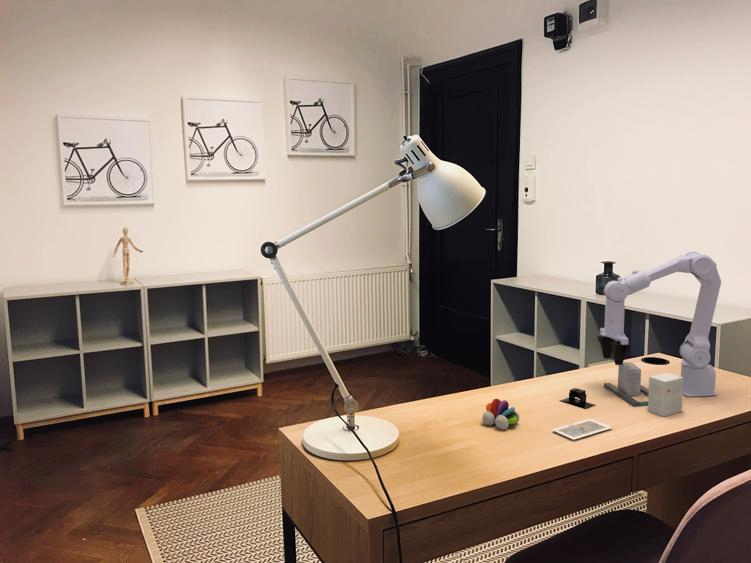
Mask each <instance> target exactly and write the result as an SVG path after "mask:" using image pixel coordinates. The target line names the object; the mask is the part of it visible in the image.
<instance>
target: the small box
mask: <svg viewBox="0 0 751 563" xmlns="http://www.w3.org/2000/svg"><path fill="white" fill-rule="evenodd" d="M648 379H649V380H648V389H649V396H648V397H647V401H648V406H647V411H648V412H650V413H652V414H655V415H658V416H661V417H663V418H664V417H667V416H670V415H674V414H675V415H676V414H678V413H681V412H682V408H683V395H684V394H683V377H681V375H676V374H673V373H670V372H664V373H660V374H656V375H652V376H649V378H648Z"/></svg>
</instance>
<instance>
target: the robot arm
mask: <svg viewBox="0 0 751 563" xmlns="http://www.w3.org/2000/svg"><path fill="white" fill-rule="evenodd" d="M717 267H718V266H717V263H716V262H715V260H713V258H712V257H710V256H708V255H706V254H701V253H699V252H697V251H689V252H687V253H686V254H681V255H678V256H677V257H674V258H672V259H670V260H668V261H665V262H663V263H662V264H660V265H658V266H656V267H653V268H652V269H650V270H648V271H644V270H640V269H639V270H637V269H635V270H632V273H631V274H628V275H625V276H623V277H621V276H620V277H618V278H617V280H611V281H608V282H607V283H606V285H604V289H603V293H604V295H605V305H604V327H600V329H599V334H600V335H598V336H596V339H597V340H598V342H599V345H600V350H601V353H602V357H603V359H611V357H612V354H613V360H614V365H616V366H619V365H622V364H623V362H624V359H625V357H626V354H627V352H628V350H629V349H630V348H631V346H632V345H631V344H632V343H630V342H629V338H628V337H627V336H626V334H625V333H624V332H625V331H624V330H625V328H624V327H625V308H626V307H625V300H626V298H628V296H630V295H633V294H635V293H637V292H640V291H642V290H645V289H647V288H650V286H651V283H652V282H653V281H656V280H658V279H661V278H664V277H667V276H669V275H671V274H675V273H686V274H691V275H693V276H694V278H696V280H697V281H698V282H699V283H700V287H699V291H698V292H699V293H698V295H697V300H696V305H695V309H694V313H693V316H692V317H693V318H692V322H691V326H690V329H689V330H690V331H689V333H688V334H687V335H686V337H685V338H684V342H683V343H682V344H681V345H680V348H679V354H680V357H682V361H681V364H680V365H681V366H680V377H683V395H684V396H685V397H688V398H689V397H690V398H691V397H692V398H693V397H709V396H710V397H711V396H716V395H717V393H716V392H715V391H716V380H717V379H716V378H717V377H716V376H717V374H716V373H717V372H716V371H715V368H714V367H713V365H712V364H710V362H711V360H712V358H711V353H710V349H711V344H710V340H709V335H710V331H711V326H712V323H713V318H714V314H715V310H716V307H717V302H718V298H719V294H720V289H721V285H722V278H721V277H720V273H719V270H718V268H717ZM615 341H616V342H615ZM612 352H613V353H612Z"/></svg>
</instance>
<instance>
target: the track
mask: <svg viewBox="0 0 751 563" xmlns="http://www.w3.org/2000/svg"><path fill="white" fill-rule="evenodd" d="M603 388H605V389H607V391H609V392H611V393H613V395H616V396H617V397H618V398H620V400H623V401H624V402H625V403H627V404H628V405H629V406H632V407H635V408H637V407H638V408H640V407H648V400H642V401H641V400H639V401H638V400H637V399H635V398H633V396H629V395H627V394H626V393H624V392H623V391H621V390H620V389H619V388H618V386H616V385H614V384H612V383H611V382H603ZM642 393H643V395H644V396H646V397H647V398H648V396H649V388H647V387H645V386H643V384H641V388H640V394H642Z"/></svg>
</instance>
